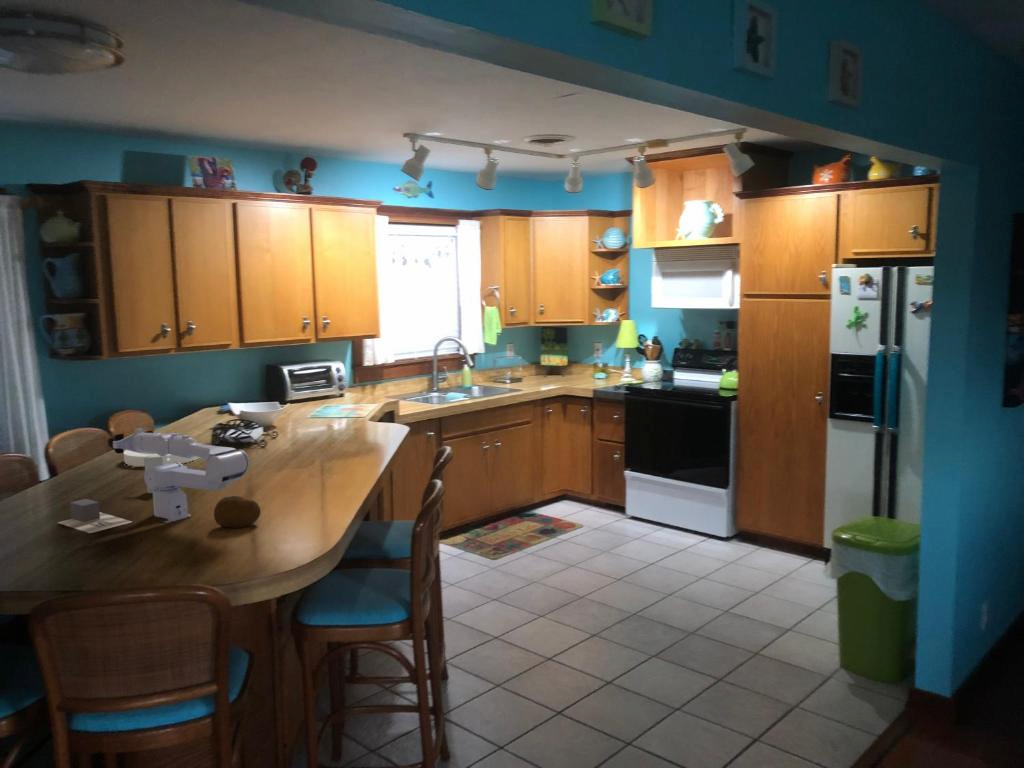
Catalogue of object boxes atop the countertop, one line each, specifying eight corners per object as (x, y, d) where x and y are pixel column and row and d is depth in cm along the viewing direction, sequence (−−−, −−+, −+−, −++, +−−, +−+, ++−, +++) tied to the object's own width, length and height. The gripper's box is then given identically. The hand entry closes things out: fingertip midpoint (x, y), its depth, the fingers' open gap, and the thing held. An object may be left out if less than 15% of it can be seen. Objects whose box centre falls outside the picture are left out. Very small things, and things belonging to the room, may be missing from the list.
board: (133, 525, 221) (132, 521, 221) (90, 537, 211) (89, 533, 211) (99, 516, 231) (99, 511, 231) (57, 526, 222) (56, 522, 221)
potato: (252, 531, 214) (250, 500, 213) (209, 532, 214) (206, 501, 213) (262, 522, 223) (260, 492, 222) (220, 522, 223) (218, 492, 221)
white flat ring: (165, 471, 289) (164, 458, 288) (107, 466, 298) (106, 454, 298) (218, 455, 315) (217, 443, 314) (163, 451, 324) (162, 440, 324)
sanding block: (100, 519, 224) (98, 502, 223) (84, 523, 220) (82, 505, 220) (87, 515, 228) (85, 498, 227) (71, 519, 224) (69, 502, 223)
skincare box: (170, 489, 260) (167, 453, 259) (165, 493, 256) (163, 456, 254) (151, 490, 260) (148, 454, 258) (146, 494, 255) (143, 457, 254)
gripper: (170, 426, 235) (143, 425, 242) (125, 431, 223) (97, 430, 230) (171, 450, 235) (144, 448, 242) (126, 456, 223) (98, 454, 230)
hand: (121, 441), depth 236 cm, fingers open, 7 cm apart
